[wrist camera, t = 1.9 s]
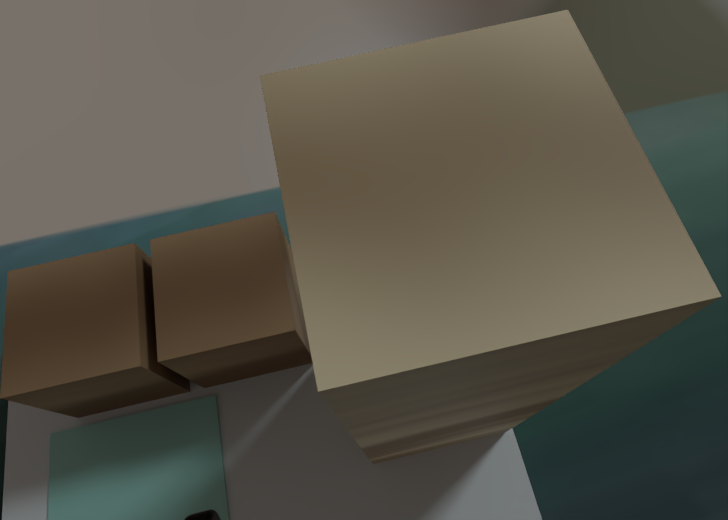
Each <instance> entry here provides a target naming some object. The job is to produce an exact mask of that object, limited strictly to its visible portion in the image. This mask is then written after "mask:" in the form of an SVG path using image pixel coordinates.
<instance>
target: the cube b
mask: <svg viewBox="0 0 728 520" xmlns="http://www.w3.org/2000/svg"><path fill="white" fill-rule="evenodd" d="M150 242H151V259H152V275H153V292H154V308H155V325H156V341H157V358H158V362H159V363H161V364H162V365H164V366H166V367H168V368H169V369H171V370H173V371H175V372H176V373H178V374H180V375H182V376H183V377H185V378H187V379H189V380H191V381H192V382H194V383H196V384H198V385H199V386H201V387H203V388H208V387H212V386H217V385H221V384H225V383H230V382H234V381H238V380H242V379H247V378H251V377H255V376H259V375H264V374H268V373H272V372H277V371H281V370H285V369H289V368H294V367H298V366H302V365H306V364H311V363H313V362H312V357H311V351H310V346H309V340H308V335H307V330H306V324H305V319H304V313H303V308H302V302H301V297H300V291H299V286H298V281H297V275H296V270H295V264H294V259H293V253H292V251H291V248H290V246H289V244H288V241H287V239H286V237H285V235H284V232H283V230H282V228H281V225H280V223H279V221H278V218H277V216H276V214H275V212H272V213H267V214H263V215H258V216H254V217H249V218H245V219H241V220H236V221H232V222H227V223H223V224H218V225H214V226H209V227H205V228H200V229H196V230H191V231H187V232H182V233H178V234H173V235H169V236H164V237H160V238H155V239H151V240H150Z"/></svg>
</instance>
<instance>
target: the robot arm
mask: <svg viewBox="0 0 728 520" xmlns="http://www.w3.org/2000/svg"><path fill="white" fill-rule="evenodd" d="M184 520H221V519H220V517H219V515H218V513H217V512H216V511H215V510H212V509H210V510H206V511H202V512H198V513H194V514H191V515H189V516H187V517H186V518H185V519H184Z"/></svg>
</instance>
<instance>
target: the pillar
mask: <svg viewBox="0 0 728 520" xmlns="http://www.w3.org/2000/svg"><path fill="white" fill-rule="evenodd" d="M260 79H261V84H262V90H263V95H264V101H265V105H266V112H267V117H268V123H269V127H270V133H271V139H272V144H273V150H274V155H275V160H276V166H277V172H278V177H279V182H280V188H281V193H282V199H283V204H284V210H285V215H286V221H287V226H288V232H289V237H290V242H291V248H292V253H293V259H294V264H295V270H296V275H297V281H298V286H299V291H300V297H301V302H302V308H303V313H304V319H305V324H306V330H307V335H308V340H309V346H310V351H311V357H312V362H313V368H314V373H315V379H316V384H317V389H318V392H319V394H320V395H321V396H322V398H323V399H324V400H325V402H326V403H327V404H328V406H329V407H330V408H331V410H332V411H333V412H334V414H335V415H336V416H337V417H338V419H339V420H340V421H341V423H342V424H343V425H344V427H345V428H346V429H347V431H348V432H349V433H350V435H351V436H352V437H353V438H354V440H355V441H356V442H357V444H358V445H359V446H360V448H361V449H362V450H363V452H364V453H365V454H366V456H367V457H368V458H369V459H370V461H371V462H372V463H373V464H376V463H380V462H384V461H388V460H392V459H396V458H401V457H405V456H409V455H413V454H417V453H421V452H425V451H430V450H434V449H438V448H442V447H446V446H450V445H454V444H459V443H463V442H467V441H471V440H475V439H479V438H483V437H487V436H492V435H496V434H500V433H504V432H507V431H508V430H510V429H511V428H513V427H515V426H516V425H518V424H519V423H521V422H523V421H524V420H526V419H527V418H529V417H531V416H532V415H534V414H535V413H537V412H538V411H540V410H542V409H543V408H545V407H546V406H548V405H550V404H551V403H553V402H554V401H556V400H558V399H559V398H561V397H562V396H564V395H566V394H567V393H569V392H570V391H572V390H573V389H575V388H577V387H578V386H580V385H581V384H583V383H585V382H586V381H588V380H589V379H591V378H593V377H594V376H596V375H597V374H599V373H601V372H602V371H604V370H605V369H607V368H608V367H610V366H612V365H613V364H615V363H616V362H618V361H620V360H621V359H623V358H624V357H626V356H628V355H629V354H631V353H632V352H634V351H636V350H637V349H639V348H640V347H642V346H643V345H645V344H647V343H648V342H650V341H651V340H653V339H655V338H656V337H658V336H659V335H661V334H663V333H664V332H666V331H667V330H669V329H671V328H672V327H674V326H675V325H677V324H678V323H680V322H682V321H683V320H685V319H686V318H688V317H690V316H691V315H693V314H694V313H696V312H698V311H699V310H701V309H702V308H704V307H706V306H707V305H709V304H710V303H712V302H714V301H715V300H717V299H718V298H720V297H721V295H720V293H719V291H718V289H717V287H716V285H715V283H714V282H713V280H712V278H711V276H710V274H709V272H708V270H707V268H706V267H705V265H704V263H703V261H702V259H701V257H700V255H699V254H698V252H697V250H696V248H695V246H694V244H693V242H692V241H691V239H690V237H689V235H688V233H687V231H686V229H685V227H684V226H683V224H682V222H681V220H680V218H679V216H678V214H677V213H676V211H675V209H674V207H673V205H672V203H671V201H670V200H669V198H668V196H667V194H666V192H665V190H664V188H663V186H662V185H661V183H660V181H659V179H658V177H657V175H656V173H655V172H654V170H653V168H652V166H651V164H650V162H649V160H648V159H647V157H646V155H645V153H644V151H643V149H642V147H641V145H640V144H639V142H638V140H637V138H636V136H635V134H634V132H633V131H632V129H631V127H630V125H629V123H628V121H627V119H626V118H625V116H624V114H623V112H622V110H621V108H620V106H619V104H618V103H617V101H616V99H615V97H614V95H613V93H612V91H611V90H610V88H609V86H608V84H607V82H606V80H605V78H604V77H603V75H602V73H601V71H600V69H599V67H598V65H597V63H596V62H595V60H594V58H593V56H592V54H591V52H590V50H589V49H588V47H587V45H586V43H585V41H584V39H583V37H582V36H581V34H580V32H579V30H578V28H577V26H576V24H575V23H574V21H573V19H572V17H571V15H570V13H569V11H568V10H564V11H560V12H555V13H550V14H546V15H541V16H537V17H532V18H527V19H522V20H518V21H513V22H508V23H504V24H499V25H494V26H490V27H485V28H480V29H476V30H471V31H466V32H462V33H457V34H452V35H448V36H443V37H438V38H434V39H429V40H424V41H420V42H415V43H410V44H406V45H401V46H396V47H391V48H387V49H382V50H378V51H373V52H368V53H364V54H359V55H354V56H350V57H345V58H340V59H336V60H331V61H326V62H322V63H317V64H312V65H307V66H303V67H298V68H294V69H289V70H284V71H279V72H275V73H270V74H265V75H261V76H260Z"/></svg>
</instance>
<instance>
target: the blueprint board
mask: <svg viewBox="0 0 728 520" xmlns="http://www.w3.org/2000/svg"><path fill="white" fill-rule="evenodd" d="M210 509H212V510H215V511H216V512H217V513H218V515H219V517H220V519H221V520H542V518H541V515H540V512H539V509H538V506H537V503H536V500H535V497H534V493H533V490H532V487H531V484H530V481H529V478H528V475H527V472H526V469H525V466H524V463H523V460H522V457H521V453H520V450H519V447H518V444H517V441H516V438H515V435H514V432H513V429H512V428H511V429H510V430H508V431H507V432H504V433H500V434H496V435H492V436H487V437H483V438H479V439H475V440H471V441H467V442H463V443H459V444H454V445H450V446H446V447H442V448H438V449H434V450H430V451H425V452H421V453H417V454H413V455H409V456H405V457H401V458H396V459H392V460H388V461H384V462H380V463H376V464H373V463H372V462H371V461H370V459H369V458H368V457H367V456H366V454H365V453H364V452H363V450H362V449H361V448H360V446H359V445H358V444H357V442H356V441H355V440H354V438H353V437H352V436H351V435H350V433H349V432H348V431H347V429H346V428H345V427H344V425H343V424H342V423H341V421H340V420H339V419H338V417H337V416H336V415H335V414H334V412H333V411H332V410H331V408H330V407H329V406H328V404H327V403H326V402H325V400H324V399H323V398H322V396H321V395H320V394H319V392H318V389H317V384H316V379H315V373H314V368H313V363H311V364H306V365H302V366H298V367H294V368H289V369H285V370H281V371H277V372H272V373H268V374H264V375H259V376H255V377H251V378H247V379H242V380H238V381H234V382H230V383H225V384H221V385H217V386H212V387H208V388H203V387H201V386H199V385H198V384H196V383H194V382H192V381H191V380H190V392H187V393H183V394H178V395H174V396H170V397H165V398H161V399H157V400H153V401H148V402H144V403H140V404H135V405H131V406H127V407H123V408H118V409H114V410H110V411H106V412H101V413H97V414H93V415H88V416H84V417H80V418H76V417H72V416H68V415H64V414H60V413H56V412H52V411H48V410H44V409H40V408H36V407H32V406H28V405H24V404H20V403H16V402H12V401H8V418H7V436H6V453H5V471H4V489H3V507H2V520H184V519H185V518H186V517H187V516H189V515H191V514H194V513H198V512H202V511H206V510H210Z"/></svg>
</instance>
